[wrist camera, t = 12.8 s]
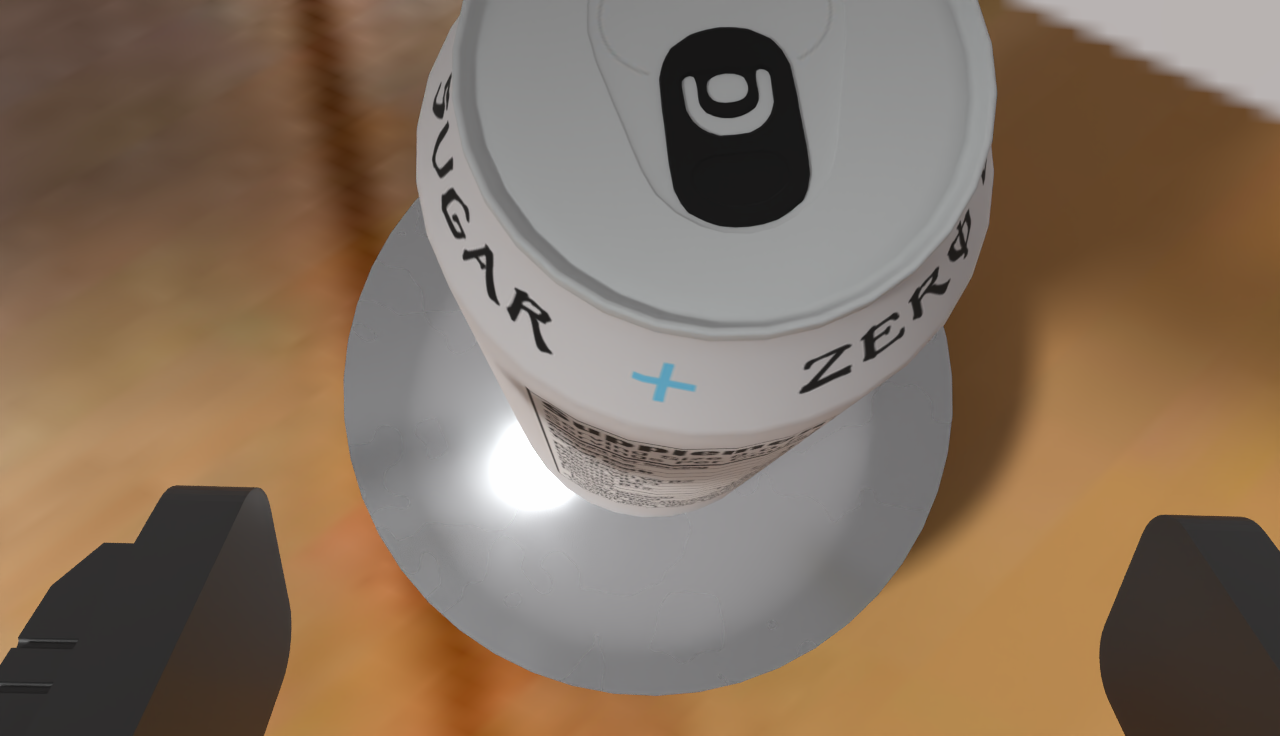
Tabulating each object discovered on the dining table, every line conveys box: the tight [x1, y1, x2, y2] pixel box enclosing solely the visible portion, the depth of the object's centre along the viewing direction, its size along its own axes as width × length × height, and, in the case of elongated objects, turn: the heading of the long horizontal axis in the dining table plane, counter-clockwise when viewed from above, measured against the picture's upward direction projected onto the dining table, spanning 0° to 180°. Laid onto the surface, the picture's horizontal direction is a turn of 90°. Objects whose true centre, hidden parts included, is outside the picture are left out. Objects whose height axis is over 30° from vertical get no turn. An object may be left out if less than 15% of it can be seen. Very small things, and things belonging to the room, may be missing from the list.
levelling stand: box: [344, 197, 952, 696], centre depth 26 cm, size 14×14×4 cm
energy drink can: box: [416, 0, 997, 517], centre depth 16 cm, size 6×6×15 cm
